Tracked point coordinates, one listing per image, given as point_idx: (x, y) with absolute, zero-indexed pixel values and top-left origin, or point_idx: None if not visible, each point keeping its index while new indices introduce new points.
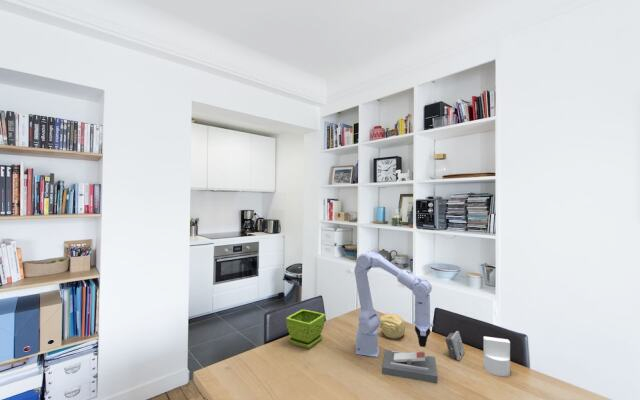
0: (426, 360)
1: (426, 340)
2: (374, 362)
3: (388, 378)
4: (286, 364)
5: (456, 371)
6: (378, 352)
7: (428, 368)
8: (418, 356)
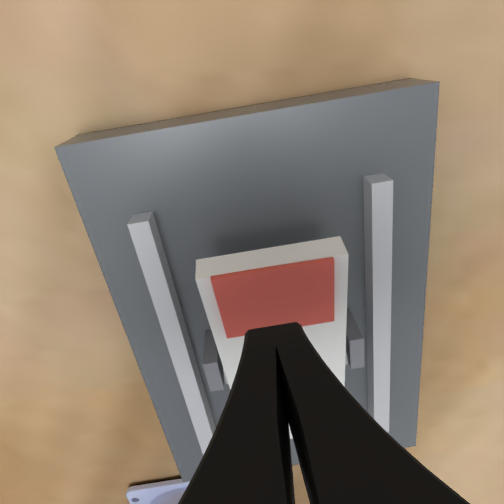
0: (182, 215)
1: (354, 399)
2: (296, 464)
3: (436, 376)
4: None
5: None
6: (189, 481)
7: (380, 182)
8: (315, 311)
